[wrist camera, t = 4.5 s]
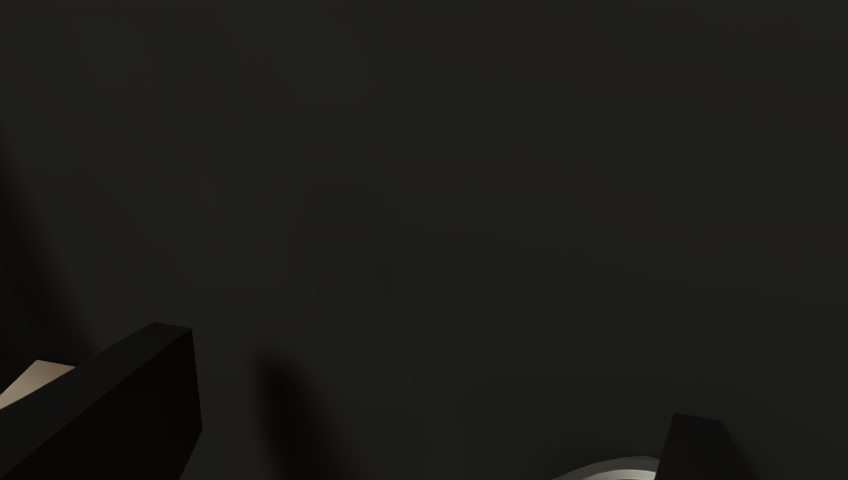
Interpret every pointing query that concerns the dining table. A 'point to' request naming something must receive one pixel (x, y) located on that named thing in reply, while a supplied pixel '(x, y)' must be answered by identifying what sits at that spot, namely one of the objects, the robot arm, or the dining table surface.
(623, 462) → the pipe fitting
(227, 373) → the dining table surface
